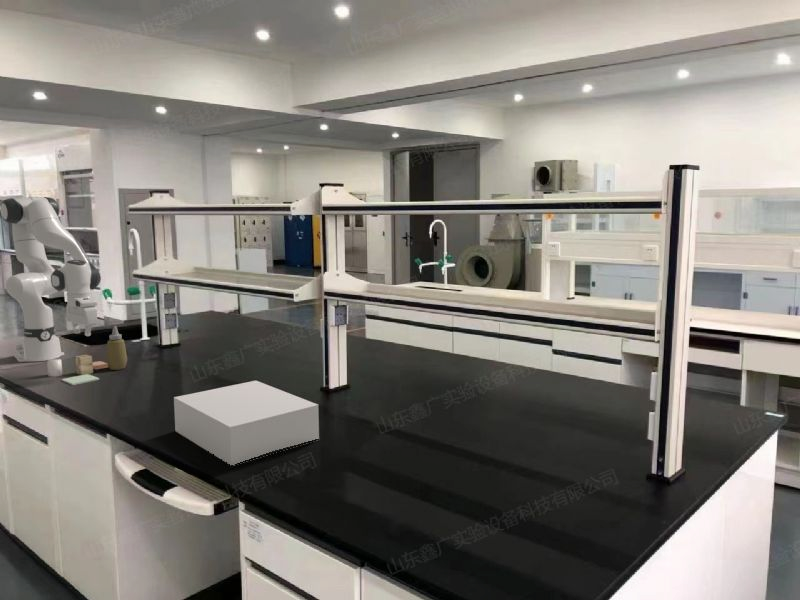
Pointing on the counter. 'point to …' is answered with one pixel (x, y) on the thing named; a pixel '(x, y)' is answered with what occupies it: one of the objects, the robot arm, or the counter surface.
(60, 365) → the white rounded dome
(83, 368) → the maple block
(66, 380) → the mat
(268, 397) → the box
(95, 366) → the terracotta tile
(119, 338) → the squeeze bottle
